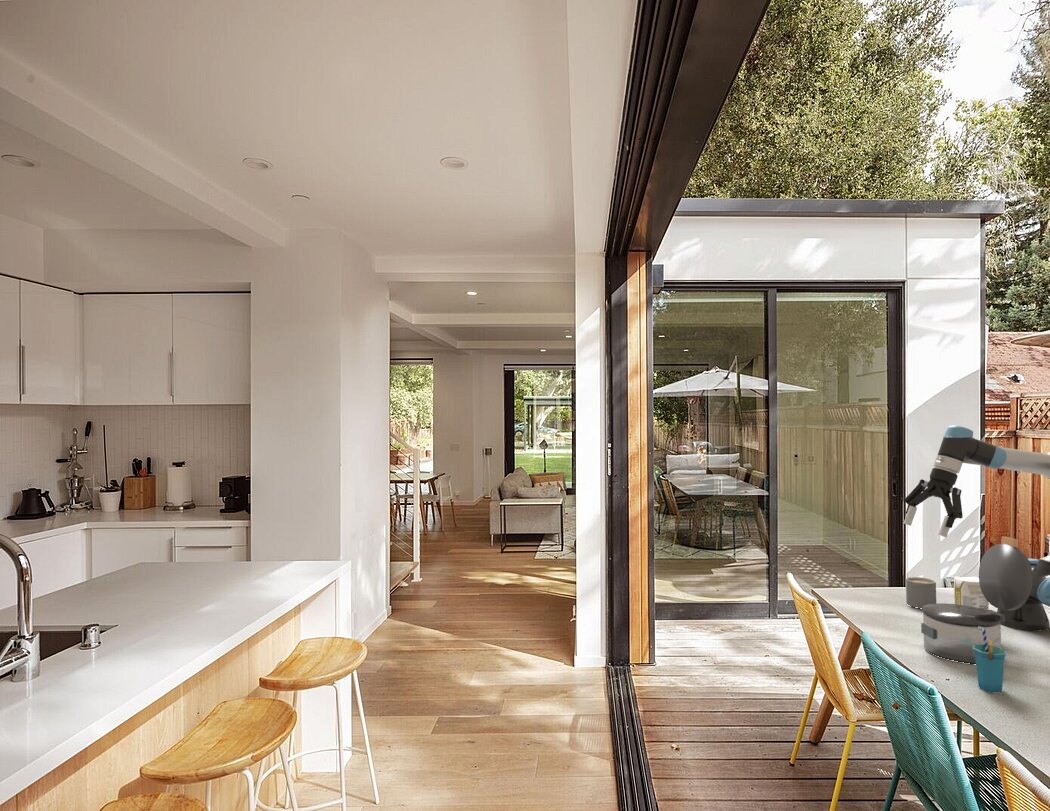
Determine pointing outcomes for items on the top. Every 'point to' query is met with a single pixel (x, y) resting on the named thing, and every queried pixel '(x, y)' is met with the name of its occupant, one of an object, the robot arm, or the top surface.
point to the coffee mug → (920, 591)
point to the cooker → (959, 630)
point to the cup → (989, 665)
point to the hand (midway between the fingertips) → (924, 530)
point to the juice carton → (969, 593)
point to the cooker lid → (1005, 575)
